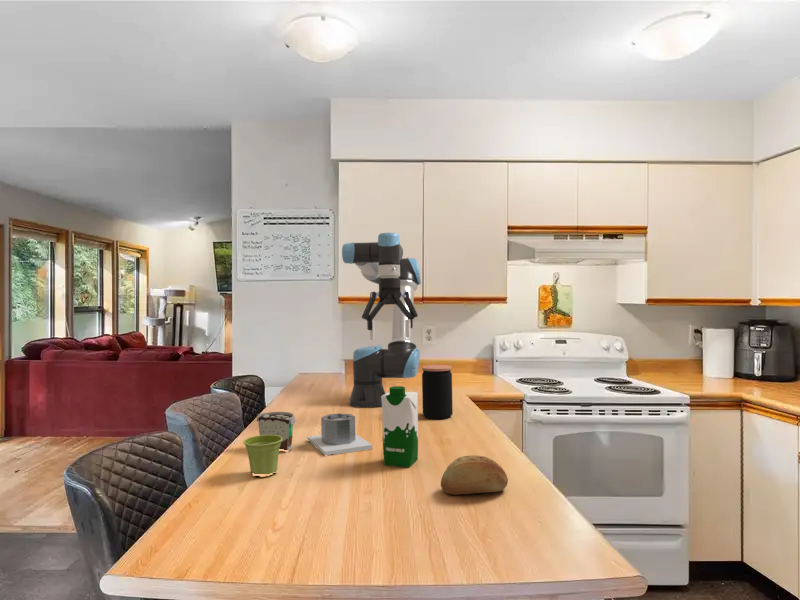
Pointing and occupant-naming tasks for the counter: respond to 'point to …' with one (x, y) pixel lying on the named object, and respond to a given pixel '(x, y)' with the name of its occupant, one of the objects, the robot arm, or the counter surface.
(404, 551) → the counter surface
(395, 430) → the milk carton
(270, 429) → the food container
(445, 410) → the coffee jar
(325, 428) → the collar
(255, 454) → the plant pot
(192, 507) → the counter surface
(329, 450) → the panel
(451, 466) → the bread roll
